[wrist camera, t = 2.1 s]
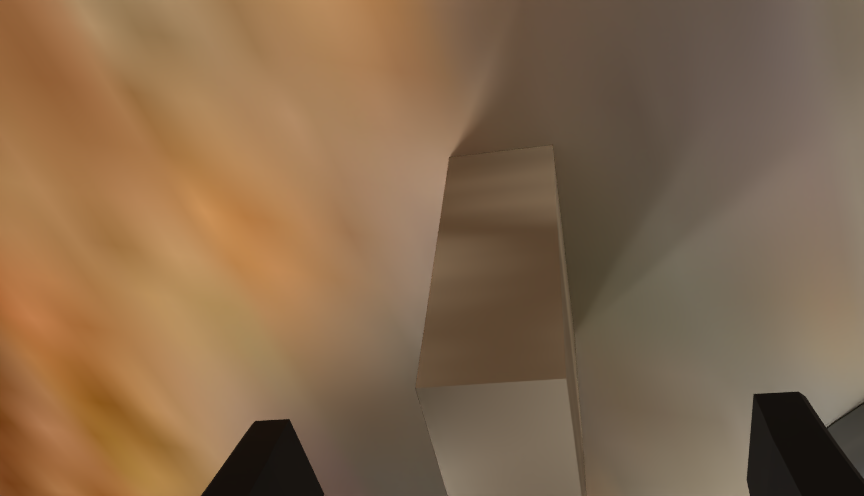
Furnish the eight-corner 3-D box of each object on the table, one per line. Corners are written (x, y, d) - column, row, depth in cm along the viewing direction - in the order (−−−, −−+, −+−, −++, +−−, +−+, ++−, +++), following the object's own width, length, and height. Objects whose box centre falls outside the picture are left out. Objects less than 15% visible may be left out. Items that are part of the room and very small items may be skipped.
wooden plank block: (487, 340, 18) (474, 585, 13) (449, 156, 15) (414, 387, 10) (574, 334, 18) (593, 584, 13) (552, 144, 15) (566, 378, 10)
